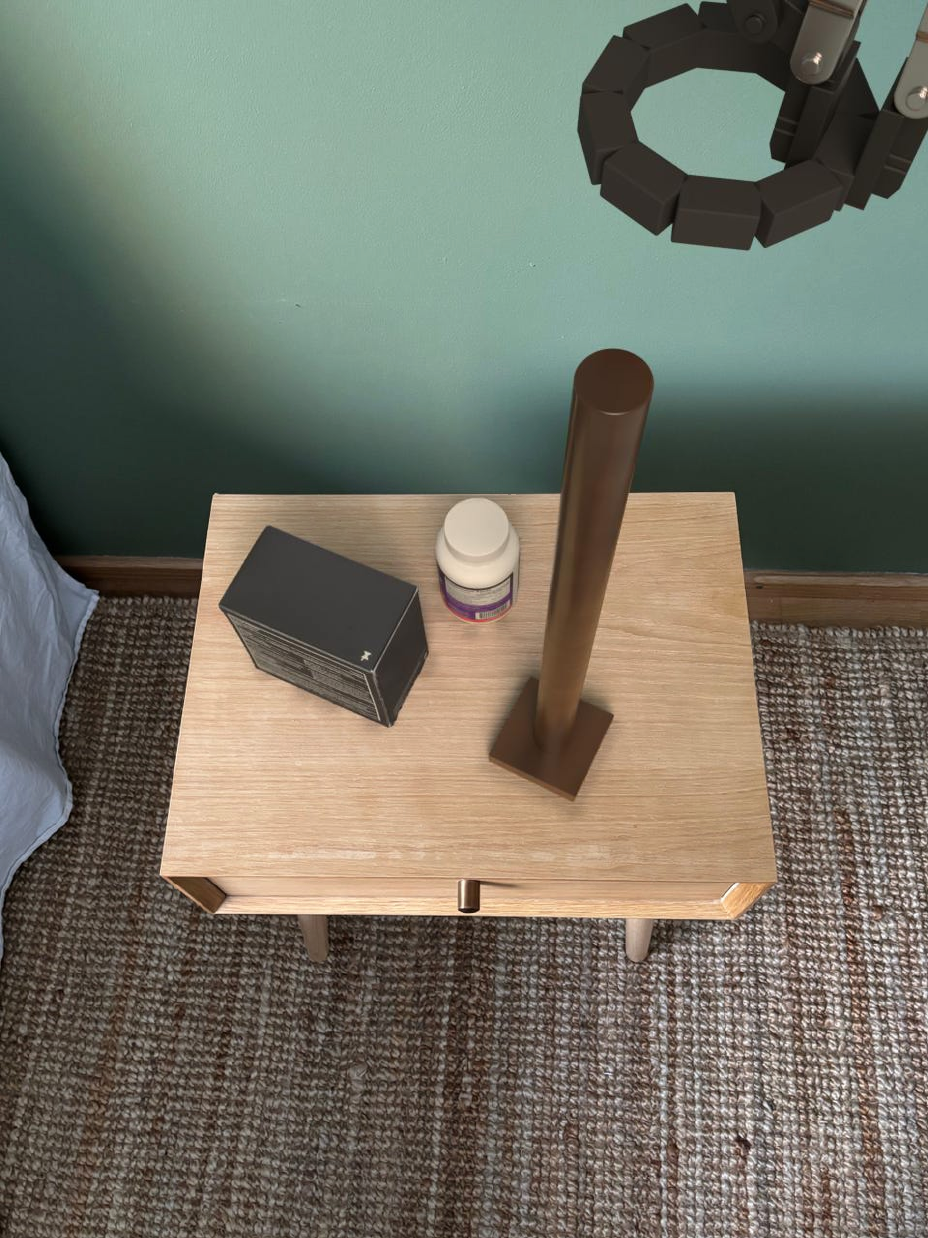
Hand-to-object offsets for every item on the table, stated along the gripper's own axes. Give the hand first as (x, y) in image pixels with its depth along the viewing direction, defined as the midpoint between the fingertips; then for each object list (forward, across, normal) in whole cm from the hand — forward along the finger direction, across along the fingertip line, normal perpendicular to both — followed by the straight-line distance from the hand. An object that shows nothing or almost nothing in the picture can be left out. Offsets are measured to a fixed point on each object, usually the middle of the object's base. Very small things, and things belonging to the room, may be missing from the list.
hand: (830, 175), depth 32 cm
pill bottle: (+41, +12, +2) cm, 43 cm away
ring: (0, +4, 0) cm, 4 cm away
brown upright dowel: (+41, +3, +9) cm, 42 cm away
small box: (+41, +18, +10) cm, 46 cm away
